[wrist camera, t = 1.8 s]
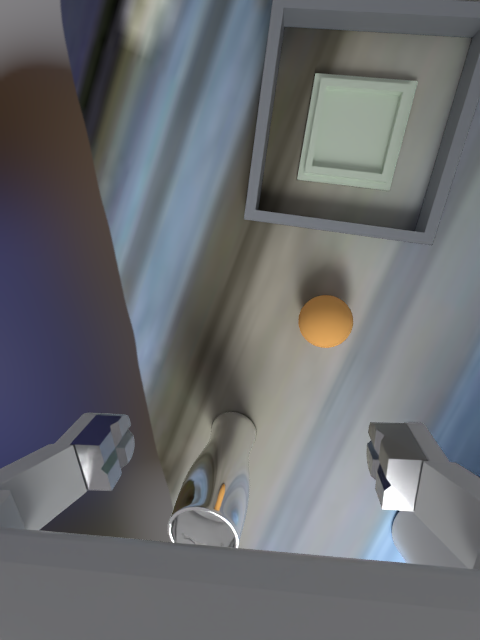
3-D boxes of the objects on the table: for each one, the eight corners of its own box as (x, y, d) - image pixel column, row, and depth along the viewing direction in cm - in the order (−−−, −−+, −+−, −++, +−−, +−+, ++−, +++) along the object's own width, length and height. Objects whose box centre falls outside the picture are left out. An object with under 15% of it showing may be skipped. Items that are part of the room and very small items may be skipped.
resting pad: (416, 83, 27) (421, 76, 26) (388, 190, 30) (391, 189, 29) (315, 75, 28) (316, 68, 27) (296, 179, 31) (297, 177, 30)
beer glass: (232, 398, 40) (197, 492, 26) (270, 433, 40) (257, 544, 26) (198, 428, 42) (150, 530, 28) (235, 461, 42) (206, 577, 28)
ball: (353, 295, 33) (364, 307, 28) (341, 341, 35) (350, 360, 30) (303, 286, 34) (304, 297, 29) (294, 332, 36) (294, 350, 31)
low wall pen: (489, 23, 25) (509, 2, 23) (421, 244, 31) (432, 245, 29) (275, 12, 28) (273, -9, 25) (247, 219, 33) (244, 219, 31)
